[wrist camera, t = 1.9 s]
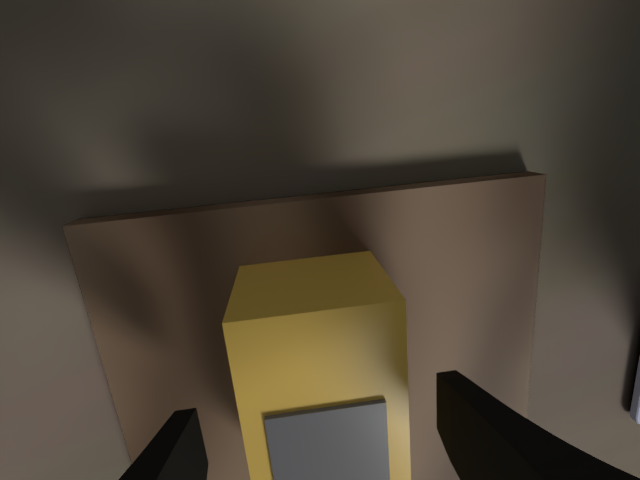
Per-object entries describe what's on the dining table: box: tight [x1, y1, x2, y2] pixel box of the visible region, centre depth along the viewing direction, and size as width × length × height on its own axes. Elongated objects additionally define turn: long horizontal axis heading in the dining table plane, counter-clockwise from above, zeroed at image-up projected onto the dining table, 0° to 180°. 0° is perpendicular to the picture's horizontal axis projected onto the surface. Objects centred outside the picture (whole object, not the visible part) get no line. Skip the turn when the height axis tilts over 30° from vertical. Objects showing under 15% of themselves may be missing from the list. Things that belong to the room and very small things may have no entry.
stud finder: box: [222, 251, 411, 480], centre depth 12 cm, size 4×8×4 cm, turn 5°
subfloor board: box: [62, 171, 546, 480], centre depth 16 cm, size 16×24×1 cm, turn 5°
